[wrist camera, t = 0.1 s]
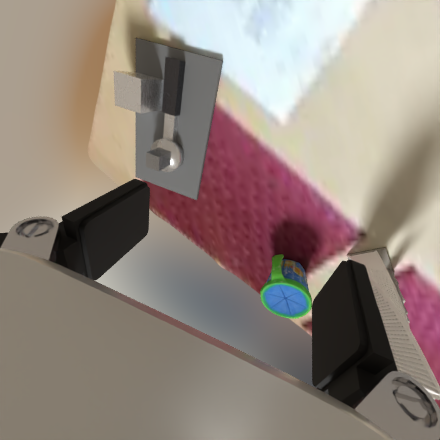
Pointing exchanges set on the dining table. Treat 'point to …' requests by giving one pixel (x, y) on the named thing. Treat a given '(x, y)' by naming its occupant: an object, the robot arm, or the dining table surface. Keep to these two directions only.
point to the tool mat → (187, 121)
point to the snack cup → (286, 289)
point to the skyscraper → (396, 319)
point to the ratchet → (169, 120)
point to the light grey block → (138, 92)
